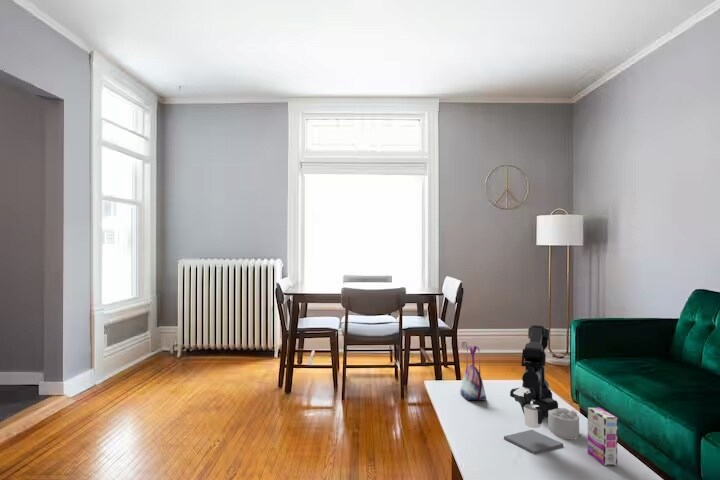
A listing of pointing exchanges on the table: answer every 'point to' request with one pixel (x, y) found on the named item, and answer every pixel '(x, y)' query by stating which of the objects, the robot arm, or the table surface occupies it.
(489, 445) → the table surface
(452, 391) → the table surface
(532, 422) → the shot glass
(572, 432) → the lumpy-topped squat cylinder
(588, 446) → the candy bar box
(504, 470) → the table surface
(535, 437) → the charcoal mat
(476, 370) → the handbag
